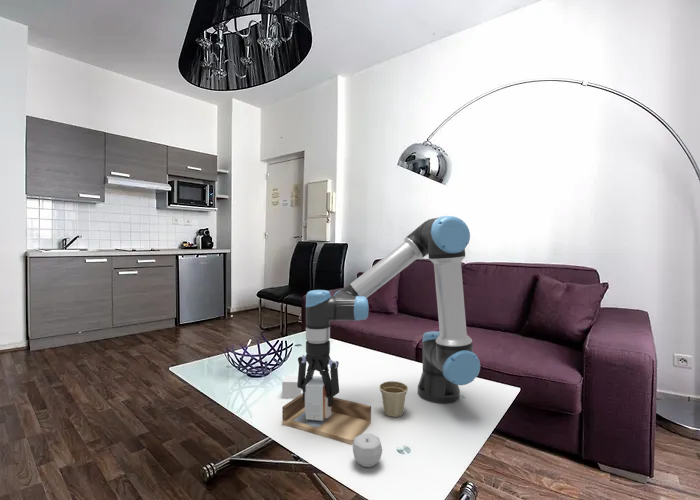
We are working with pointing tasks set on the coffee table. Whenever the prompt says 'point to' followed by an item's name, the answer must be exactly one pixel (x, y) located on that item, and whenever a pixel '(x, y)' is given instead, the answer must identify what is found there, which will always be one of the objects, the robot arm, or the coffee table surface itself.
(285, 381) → the white cube
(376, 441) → the apple
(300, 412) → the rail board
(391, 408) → the flower pot
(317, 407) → the small box
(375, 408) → the coffee table surface
